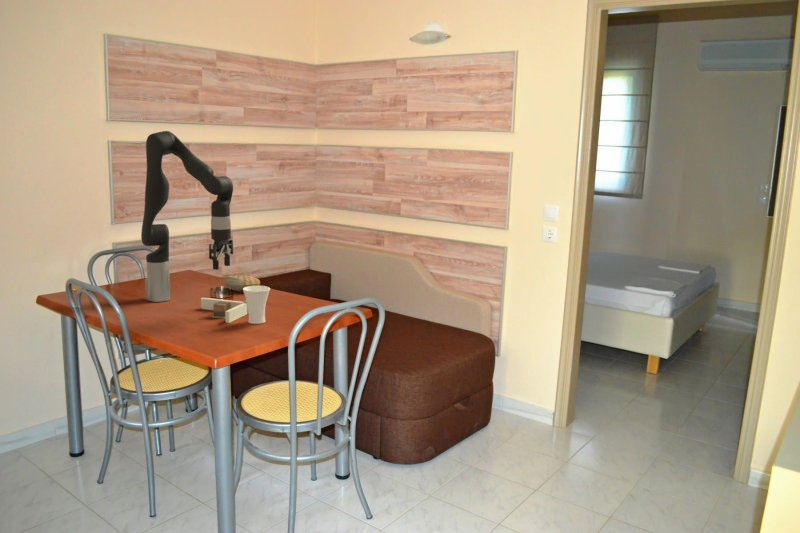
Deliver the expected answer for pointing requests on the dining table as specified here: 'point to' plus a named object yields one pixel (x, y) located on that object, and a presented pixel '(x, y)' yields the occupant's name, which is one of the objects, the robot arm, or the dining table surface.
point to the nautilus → (240, 282)
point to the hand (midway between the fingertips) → (221, 267)
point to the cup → (256, 302)
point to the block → (221, 308)
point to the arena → (232, 314)
